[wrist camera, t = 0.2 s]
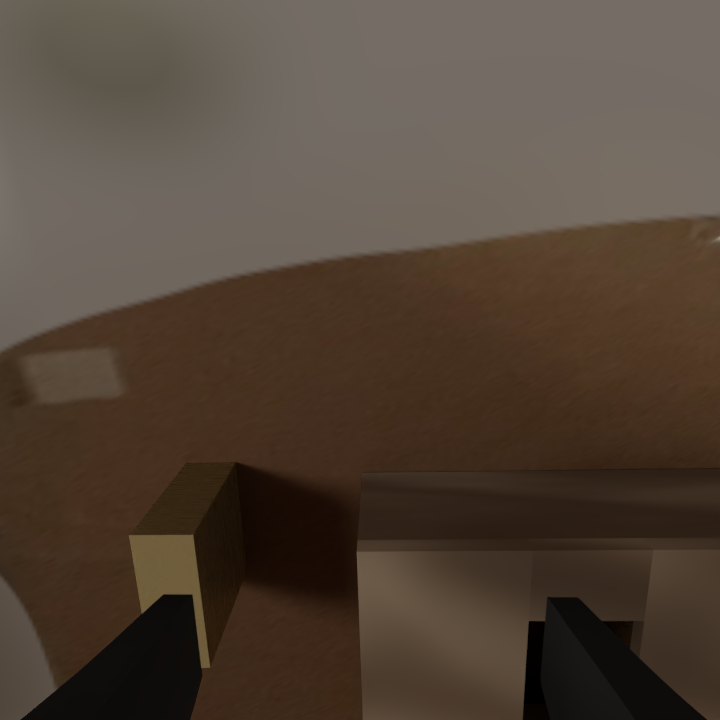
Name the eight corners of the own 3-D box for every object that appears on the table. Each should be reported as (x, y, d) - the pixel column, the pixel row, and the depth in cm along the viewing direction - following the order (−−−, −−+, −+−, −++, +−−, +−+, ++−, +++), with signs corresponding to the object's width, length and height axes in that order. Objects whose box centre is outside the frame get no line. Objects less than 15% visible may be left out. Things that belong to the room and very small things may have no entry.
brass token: (246, 570, 22) (210, 667, 18) (200, 570, 22) (150, 667, 18) (236, 462, 21) (193, 534, 16) (186, 462, 21) (129, 535, 16)
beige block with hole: (686, 715, 23) (768, 848, 19) (370, 713, 24) (367, 841, 19) (727, 468, 20) (838, 548, 15) (362, 472, 21) (356, 551, 16)
